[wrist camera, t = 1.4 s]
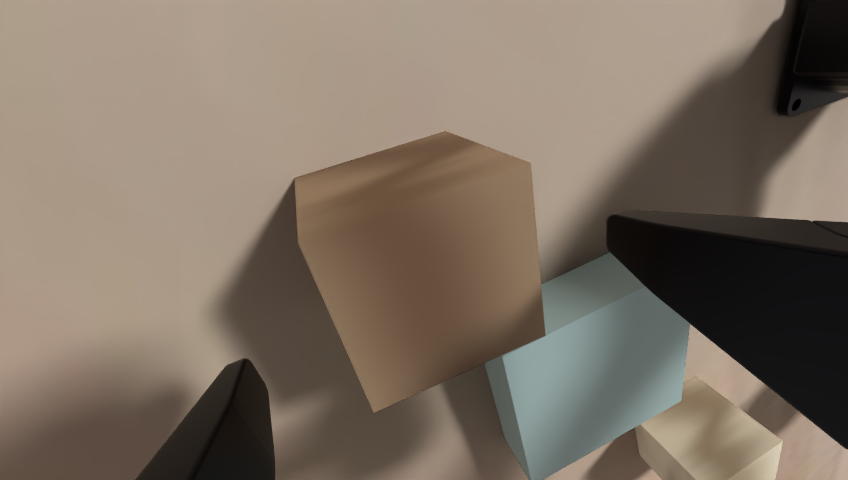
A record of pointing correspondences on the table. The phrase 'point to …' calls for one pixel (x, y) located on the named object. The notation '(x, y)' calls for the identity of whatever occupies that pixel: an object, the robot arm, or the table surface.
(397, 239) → the walnut cube
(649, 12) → the table surface
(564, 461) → the base block
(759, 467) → the beech cube
